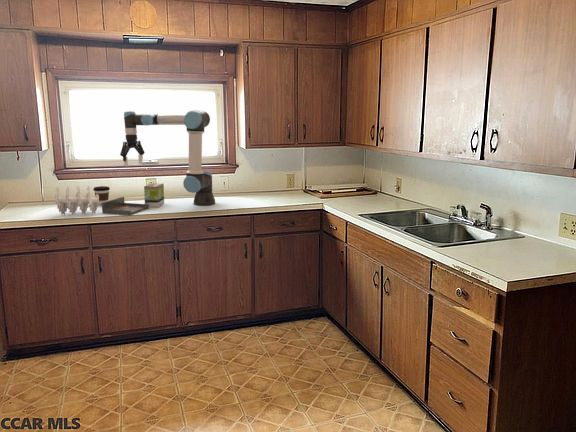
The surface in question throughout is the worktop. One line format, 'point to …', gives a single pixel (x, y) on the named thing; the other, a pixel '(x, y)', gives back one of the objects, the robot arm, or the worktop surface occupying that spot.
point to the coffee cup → (102, 193)
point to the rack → (122, 207)
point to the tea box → (154, 194)
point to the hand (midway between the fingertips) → (133, 165)
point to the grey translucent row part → (76, 202)
